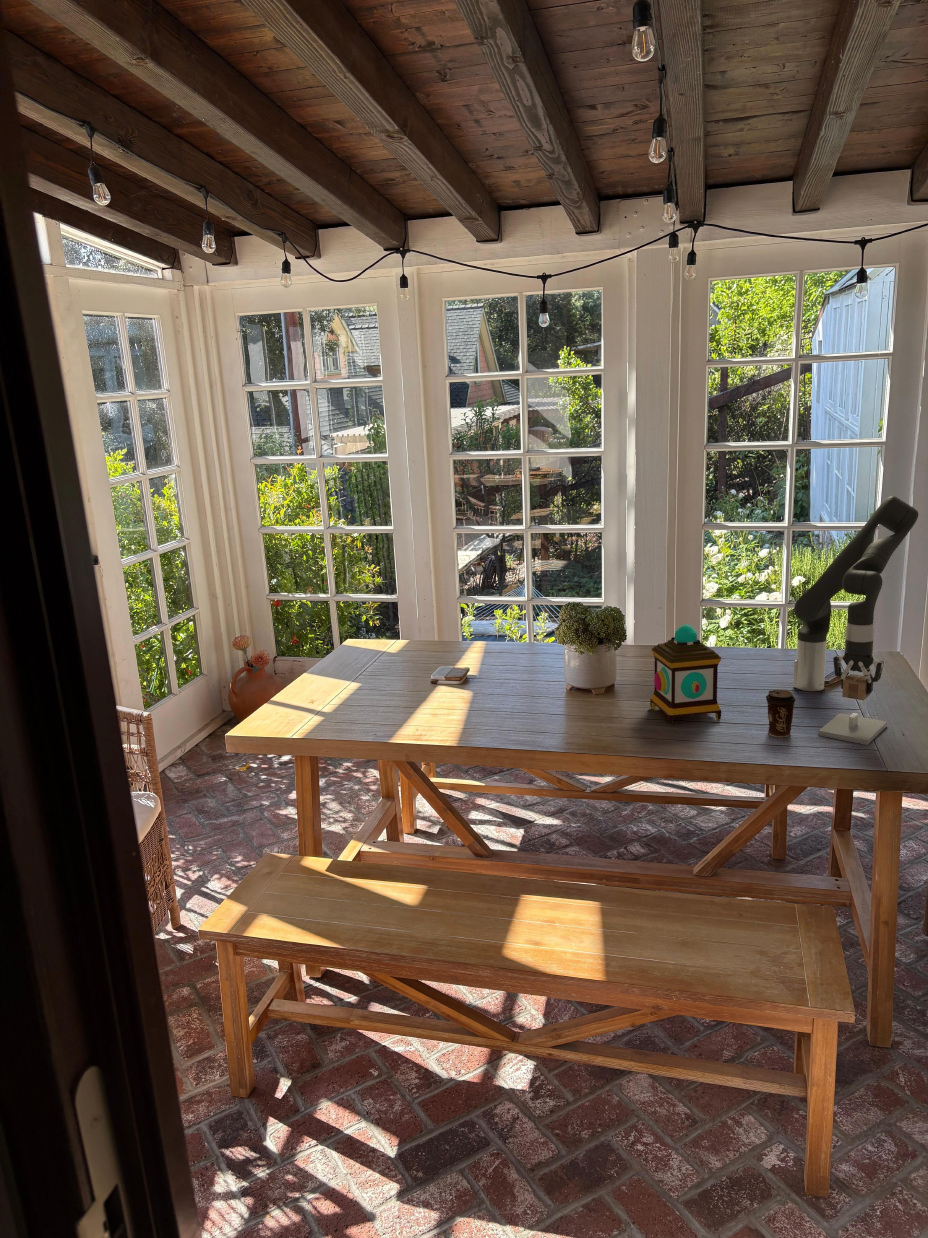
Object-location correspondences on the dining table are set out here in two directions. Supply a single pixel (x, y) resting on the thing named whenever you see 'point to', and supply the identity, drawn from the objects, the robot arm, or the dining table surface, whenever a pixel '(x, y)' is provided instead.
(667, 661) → the decorative lantern
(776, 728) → the coffee cup
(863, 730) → the base plate
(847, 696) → the cardboard box
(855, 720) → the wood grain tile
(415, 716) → the dining table surface
